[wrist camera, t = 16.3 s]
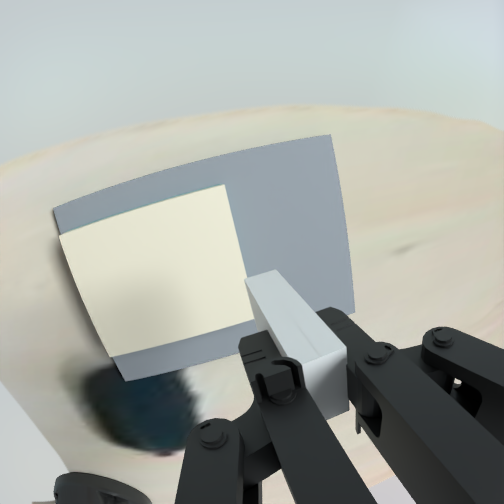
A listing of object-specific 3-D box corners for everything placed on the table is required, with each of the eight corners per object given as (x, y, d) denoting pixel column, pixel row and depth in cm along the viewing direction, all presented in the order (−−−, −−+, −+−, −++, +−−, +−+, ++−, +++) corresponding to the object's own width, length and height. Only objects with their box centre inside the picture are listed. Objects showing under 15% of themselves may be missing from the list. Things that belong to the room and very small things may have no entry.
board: (251, 306, 24) (114, 344, 23) (220, 183, 21) (68, 230, 19) (257, 317, 22) (109, 357, 21) (224, 184, 19) (58, 236, 18)
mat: (126, 377, 24) (125, 381, 24) (56, 207, 19) (52, 208, 19) (352, 309, 28) (355, 312, 27) (327, 134, 23) (330, 134, 22)
